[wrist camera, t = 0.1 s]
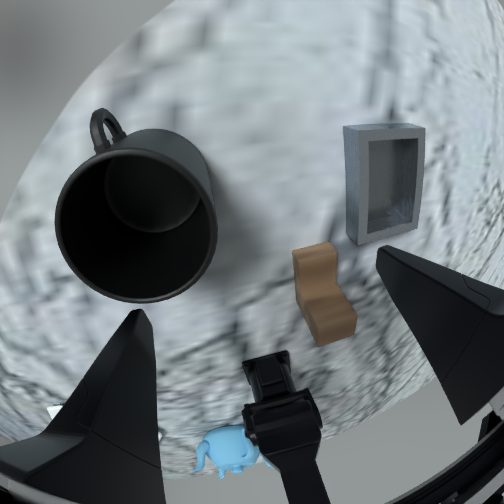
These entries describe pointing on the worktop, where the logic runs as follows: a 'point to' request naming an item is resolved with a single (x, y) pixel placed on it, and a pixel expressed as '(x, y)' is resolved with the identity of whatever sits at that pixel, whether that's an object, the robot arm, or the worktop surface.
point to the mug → (137, 214)
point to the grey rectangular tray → (383, 179)
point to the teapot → (227, 450)
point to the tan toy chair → (322, 294)
